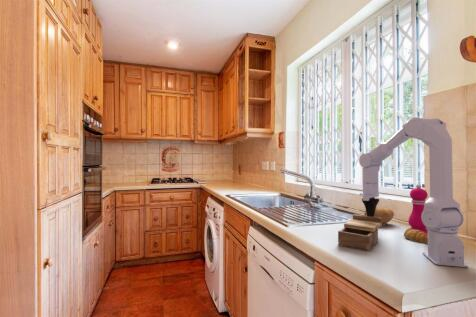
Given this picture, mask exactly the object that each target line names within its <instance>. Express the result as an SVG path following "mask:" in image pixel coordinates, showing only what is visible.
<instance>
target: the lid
mask: <svg viewBox="0 0 476 317" xmlns="http://www.w3.org/2000/svg"><path fill="white" fill-rule="evenodd" d="M382 226H383V225H382V218H380V217H372V216H365V215H363V214H362V215H361V214H356V213H355V214H352V219H350V220H349V221H347V222H344V223H343V228H345V227H347V228H353V229H359V230H365V231H371V232H374V231H375V230H376V229H378V230H379V228H380V227H382Z"/></svg>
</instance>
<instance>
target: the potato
mask: <svg viewBox="0 0 476 317" xmlns="http://www.w3.org/2000/svg"><path fill="white" fill-rule="evenodd" d="M363 213H364V216H367V212H366V209H365V210H364V212H363ZM394 216H395V214H394V211H393V210H392V209H391V208H389V207H381V206H380V207H379V206H378V207H377V206H376V210H375V215H374V217H380V218H382V225H381V226H384V225H386V224H388V223H389V222H390V221H391V220H393V218H394Z"/></svg>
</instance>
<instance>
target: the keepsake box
mask: <svg viewBox="0 0 476 317" xmlns="http://www.w3.org/2000/svg"><path fill="white" fill-rule="evenodd" d="M337 238H338V239H337V246H339V247H344V248H349V249H353V250H358V251H363V252H368V253H369V252H371V250H373V248H375V246H376V245H378V244H379V228H378V229H376V230H375V231H374V232H371V231H365V230H359V229H353V228H347V227H343V228H341V229H339V230H338V231H337Z"/></svg>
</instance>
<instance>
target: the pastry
mask: <svg viewBox="0 0 476 317" xmlns="http://www.w3.org/2000/svg"><path fill="white" fill-rule="evenodd" d="M403 237H404V238H405V239H407V240H410V241H413V242H417V243H419V244H420V243H421V244H428V234H427V233H424V232H423V231H421V230H414V229H412V228H411V227H408V228H406V229H405V231H404V233H403Z"/></svg>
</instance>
